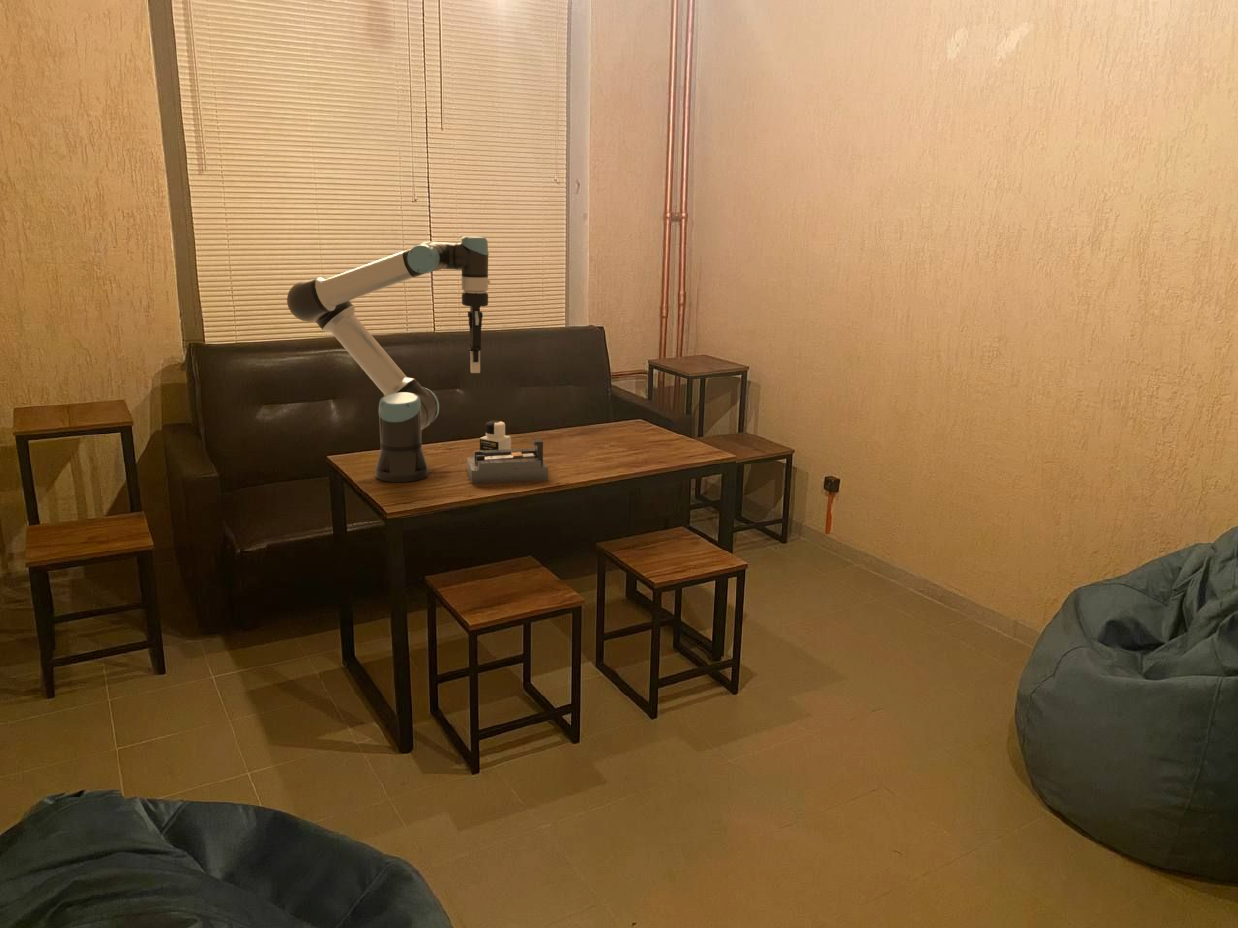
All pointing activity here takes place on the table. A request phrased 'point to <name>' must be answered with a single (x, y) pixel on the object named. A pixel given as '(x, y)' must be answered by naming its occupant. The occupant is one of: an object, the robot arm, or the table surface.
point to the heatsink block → (508, 466)
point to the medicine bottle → (495, 437)
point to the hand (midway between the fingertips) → (475, 372)
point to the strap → (511, 456)
